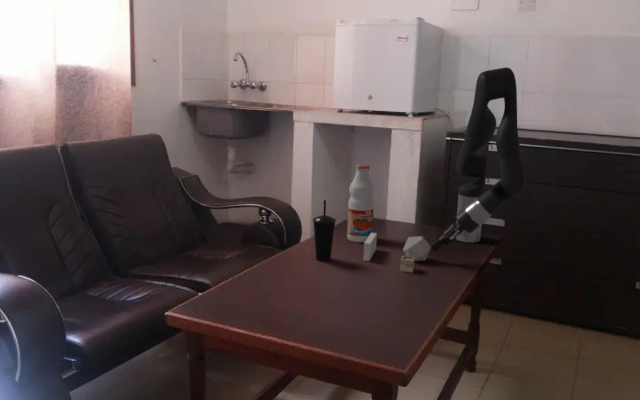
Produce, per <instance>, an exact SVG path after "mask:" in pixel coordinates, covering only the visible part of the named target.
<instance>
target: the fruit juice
mask: <svg viewBox="0 0 640 400" xmlns="http://www.w3.org/2000/svg"><path fill="white" fill-rule="evenodd" d="M369 170H370V165H369V164H365V163H359V164H358V163H357V164H356V165H355V175H354V177H353V180H352V182H351V183H350V185H349V188H348V190H349V192H348V193H349V199H348V203H347V204H348V205H347V226H346V227H347V230H346V237H347V240H348V241H350V242H354V243H365V241H366V240H367V238H368V237H369V235H370V234H371V233H374V232H373V227H374V211H375V210H374V209H375V208H374V207H375V204H374V198H373V196H374V193H375V186H374V184H373V182H372V180H371V177H370V173H369Z"/></svg>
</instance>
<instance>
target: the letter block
mask: <svg viewBox="0 0 640 400" xmlns="http://www.w3.org/2000/svg"><path fill="white" fill-rule="evenodd" d="M414 258H415V257H409V256H406V255H401V257H400V264H399V271H400V272H404V273H412V274H413V273H414V270H415V269H414V268H415V261H414Z"/></svg>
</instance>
